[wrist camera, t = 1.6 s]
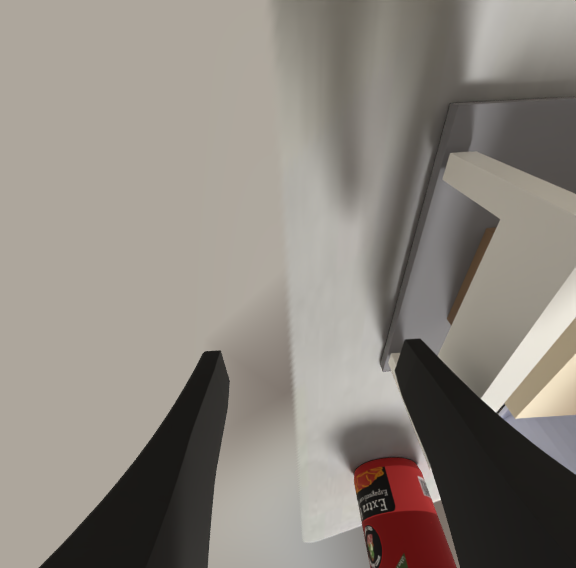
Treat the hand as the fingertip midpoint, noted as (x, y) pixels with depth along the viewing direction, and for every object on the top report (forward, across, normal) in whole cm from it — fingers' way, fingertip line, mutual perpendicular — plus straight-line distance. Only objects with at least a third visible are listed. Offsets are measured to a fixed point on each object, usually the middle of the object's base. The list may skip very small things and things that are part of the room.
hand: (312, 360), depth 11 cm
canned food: (+5, -10, +29) cm, 31 cm away
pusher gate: (+5, -6, 0) cm, 8 cm away
